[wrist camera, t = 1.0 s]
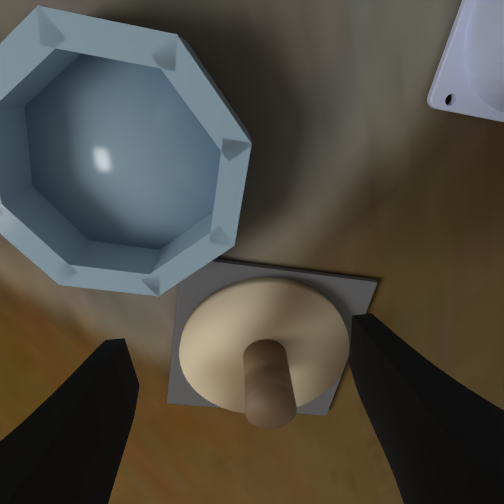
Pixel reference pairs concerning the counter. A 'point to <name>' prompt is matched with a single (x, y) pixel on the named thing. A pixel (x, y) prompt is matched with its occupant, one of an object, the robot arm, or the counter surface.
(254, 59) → the counter surface
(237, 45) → the counter surface
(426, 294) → the counter surface
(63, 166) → the bowl
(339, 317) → the lid
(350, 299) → the mat
